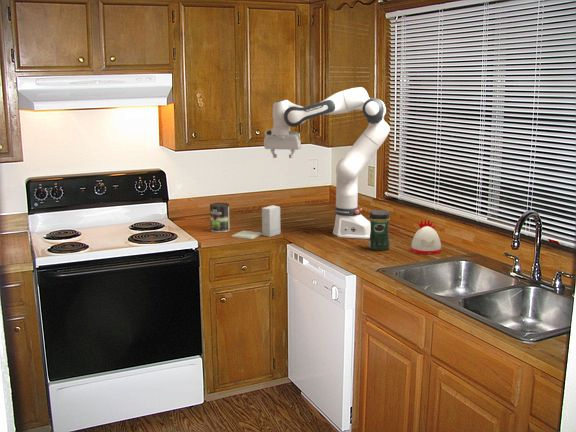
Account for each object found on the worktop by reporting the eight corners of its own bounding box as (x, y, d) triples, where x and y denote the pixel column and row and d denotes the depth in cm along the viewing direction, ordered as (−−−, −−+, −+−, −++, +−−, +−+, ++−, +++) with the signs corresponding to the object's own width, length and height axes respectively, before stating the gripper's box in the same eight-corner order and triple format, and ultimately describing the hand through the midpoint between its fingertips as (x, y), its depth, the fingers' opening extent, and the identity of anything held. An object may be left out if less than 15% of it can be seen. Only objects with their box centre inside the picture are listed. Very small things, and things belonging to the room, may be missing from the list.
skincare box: (273, 232, 343) (272, 204, 340) (281, 234, 339) (280, 206, 336) (261, 235, 337) (261, 207, 334) (269, 237, 333) (269, 208, 330)
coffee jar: (389, 246, 313) (390, 208, 309) (389, 251, 305) (390, 212, 301) (369, 246, 314) (369, 208, 310) (368, 250, 307) (369, 211, 303)
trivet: (263, 234, 340) (263, 232, 340) (251, 239, 329) (251, 237, 329) (243, 231, 345) (243, 230, 345) (231, 236, 335) (231, 235, 334)
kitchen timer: (410, 246, 313) (410, 215, 310) (439, 246, 312) (440, 216, 308) (412, 254, 300) (413, 222, 296) (442, 254, 298) (444, 222, 295)
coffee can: (223, 233, 342) (222, 206, 339) (207, 231, 347) (206, 205, 344) (233, 229, 351) (232, 203, 348) (217, 227, 356) (216, 201, 353)
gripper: (302, 130, 337) (303, 157, 340) (267, 130, 346) (268, 156, 349) (297, 132, 332) (298, 159, 335) (261, 131, 341) (263, 158, 344)
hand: (282, 157), depth 342 cm, fingers open, 8 cm apart
